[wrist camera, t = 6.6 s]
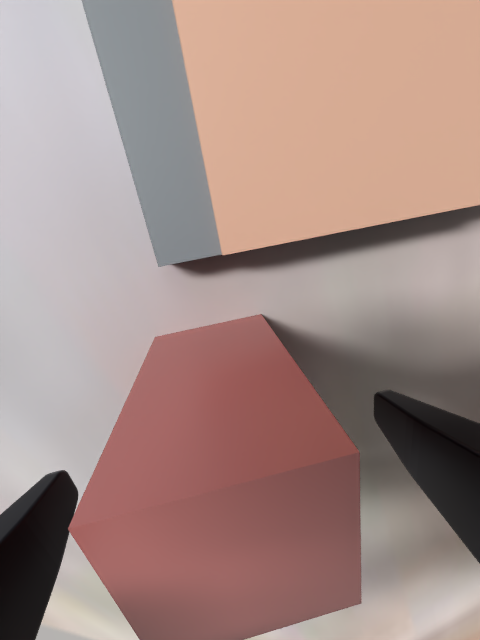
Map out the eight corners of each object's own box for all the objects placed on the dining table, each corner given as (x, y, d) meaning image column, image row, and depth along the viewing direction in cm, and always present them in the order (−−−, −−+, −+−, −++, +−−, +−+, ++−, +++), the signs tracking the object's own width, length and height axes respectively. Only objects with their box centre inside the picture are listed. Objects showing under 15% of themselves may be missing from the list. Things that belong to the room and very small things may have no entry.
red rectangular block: (261, 313, 10) (359, 452, 4) (274, 400, 12) (361, 603, 5) (155, 336, 10) (68, 528, 4) (182, 422, 12) (157, 666, 5)
